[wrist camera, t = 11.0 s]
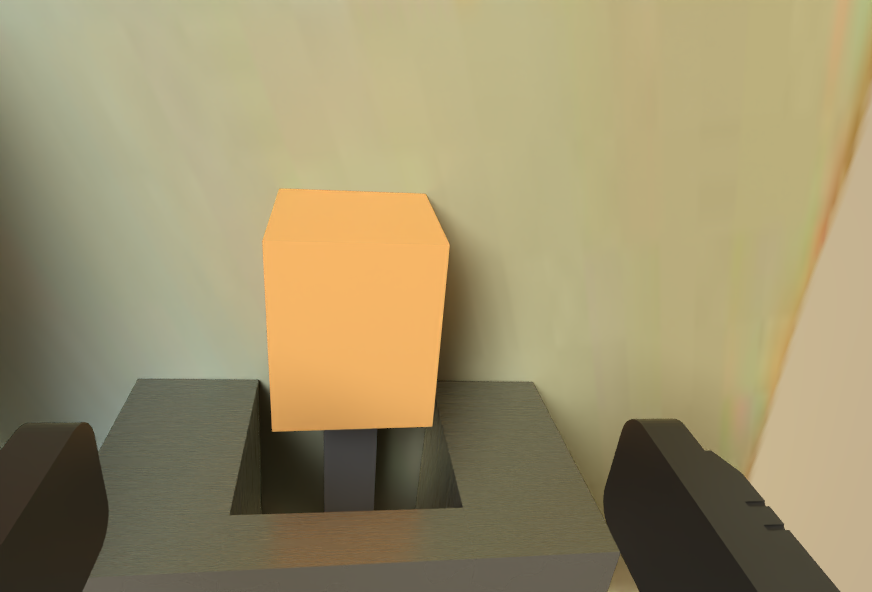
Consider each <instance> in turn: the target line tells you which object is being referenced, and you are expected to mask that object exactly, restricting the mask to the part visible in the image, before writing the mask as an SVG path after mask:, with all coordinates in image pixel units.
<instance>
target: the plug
mask: <svg viewBox="0 0 872 592" xmlns="http://www.w3.org/2000/svg"><path fill="white" fill-rule="evenodd" d="M262 243H263V263H264V282H265V302H266V321H267V341H268V360H269V380H270V400H271V419H272V432H277V431H309V430H324V512H349V511H374V492H375V470H376V448H377V428H404V427H432V425H433V415H434V404H435V394H436V383H437V373H438V362H439V352H440V341H441V331H442V321H443V310H444V300H445V289H446V279H447V268H448V258H449V247H450V244H449V242H448V240H447V238H446V236H445V234H444V232H443V230H442V228H441V225H440V223H439V221H438V219H437V217H436V215H435V213H434V211H433V208H432V206H431V204H430V202H429V200H428V198H427V196H426V194H414V193H387V192H359V191H332V190H305V189H279V191H278V194H277V197H276V200H275V203H274V207H273V210H272V213H271V216H270V219H269V222H268V225H267V228H266V231H265V234H264V237H263V241H262Z"/></svg>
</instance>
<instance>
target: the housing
mask: <svg viewBox="0 0 872 592" xmlns="http://www.w3.org/2000/svg"><path fill="white" fill-rule="evenodd" d="M98 455H99V460H100V464H101V469H102V474H103V479H104V484H105V489H106V494H107V499H108V506H109V517H108V526H107V532H106V536H105V540H104V543H103V546H102V549H101V551H100V554H99V556H98V558H97V560H96V563H95V565H94V567H93V569H92V571H91V574H90V576H89V578H88V580H87V583H86V585H85V587H84V589H83V592H607V591H608V588H609V585H610V582H611V579H612V576H613V573H614V570H615V567H616V564H617V562H618V559H619V556H620V551H619V549H618V547H617V545H616V543H615V541H614V539H613V537H612V535H611V533H610V530H609V528H608V526H607V524H606V522H605V520H604V518H603V516H602V514H601V512H600V511H599V509H598V507H597V505H596V503H595V501H594V499H593V497H592V495H591V493H590V491H589V489H588V487H587V486H586V484H585V482H584V480H583V478H582V476H581V474H580V472H579V470H578V468H577V466H576V464H575V462H574V460H573V459H572V457H571V455H570V453H569V451H568V449H567V447H566V445H565V443H564V441H563V439H562V437H561V435H560V434H559V432H558V430H557V428H556V426H555V424H554V422H553V420H552V418H551V416H550V414H549V412H548V410H547V409H546V407H545V405H544V403H543V401H542V399H541V397H540V395H539V393H538V391H537V389H536V387H535V385H534V383H533V382H467V381H437V383H436V394H435V404H434V415H433V425H432V427H426V429H425V437H424V445H423V453H422V461H421V468H420V476H419V484H418V492H417V500H416V508H415V509H411V510H380V511H349V512H318V513H287V514H262V512H261V470H260V428H259V386H258V380H206V379H138V380H137V382H136V384H135V385H134V387H133V389H132V391H131V393H130V395H129V397H128V398H127V400H126V402H125V404H124V406H123V408H122V409H121V411H120V413H119V415H118V417H117V419H116V421H115V422H114V424H113V426H112V428H111V430H110V432H109V434H108V435H107V437H106V439H105V441H104V443H103V445H102V446H101V448H100V450H99V452H98Z"/></svg>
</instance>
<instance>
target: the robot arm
mask: <svg viewBox="0 0 872 592" xmlns="http://www.w3.org/2000/svg"><path fill="white" fill-rule="evenodd" d="M764 502H765V501H764V500H763V498H762V497H761V496H760V495H759V493H758V492H757V491H756V490H755V489H754V487H753V486H752V485H751V484H750V483H749V481H748V480H747V479H746V478H745V477H744V475H743V474H742V473H741V472H739V471H738V470H737V469H735V468H734V467H732V466H731V465H730V464H728V463H727V462H726V461H724V460H723V459H722V458H720V457H719V456H718V455H716V454H715V453H714V452H712V451H705V450H704V449H703V448H702V447H701V445H700V444H699V443H698V442H697V440H696V439H695V438H694V437H693V435H692V434H691V433H690V432H689V430H688V429H687V428H686V426H685V425H684V424H683V423H682V422H680V421H679V420H677V419H631V420H629V421H627V422H626V423H625V425H624V427H623V429H622V432H621V435H620V439H619V442H618V445H617V449H616V452H615V456H614V459H613V462H612V466H611V469H610V472H609V476H608V479H607V483H606V486H605V490H604V499H603V503H604V513H605V518H606V522H607V525H608V528H609V530H610V533H611V535H612V537H613V539H614V541H615V543H616V545H617V547H618V549H619V551H620V553H621V555H622V557H623V559H624V561H625V563H626V565H627V567H628V569H629V571H630V573H631V575H632V577H633V579H634V581H635V583H636V585H637V587H638V590H639V592H840V591H839V590H838V588H837V587H836V586H835V585H834V584H833V582H832V581H831V580H830V579H829V578H828V576H827V575H826V574H825V573H824V572H823V570H822V569H821V568H820V567H819V566H818V565H817V563H816V562H815V561H814V560H813V559H812V557H811V556H810V555H809V554H808V552H807V551H806V550H805V549H804V547H803V546H802V545H801V544H800V543H799V541H798V540H797V539H796V538H795V537H794V536H793V534H792V533H791V532H790V531H789V530H785V529H784V524H783V522H782V521H781V520H780V519H779V517H778V516H777V515H776V514H775V513H774V511H773V510H772V509H771V508H770V507H769V506H768V507H766V506H765V503H764ZM108 517H109V506H108V499H107V494H106V489H105V484H104V479H103V474H102V469H101V464H100V460H99V455H98V450H97V445H96V440H95V435H94V432H93V429H92V427H91V426H90V425H89V424H88V423H85V422H81V423H26V424H23V425H22V426H20V427H19V428H18V429H17V430H16V431H15V433H14V434H13V435H12V436H11V438H10V439H9V440H8V442H7V443H6V444H5V445H4V447H3V448H2V449H1V451H0V592H83V589H84V587H85V585H86V583H87V580H88V578H89V576H90V574H91V571H92V569H93V567H94V565H95V563H96V560H97V558H98V556H99V554H100V551H101V549H102V546H103V543H104V540H105V536H106V532H107V526H108Z"/></svg>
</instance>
